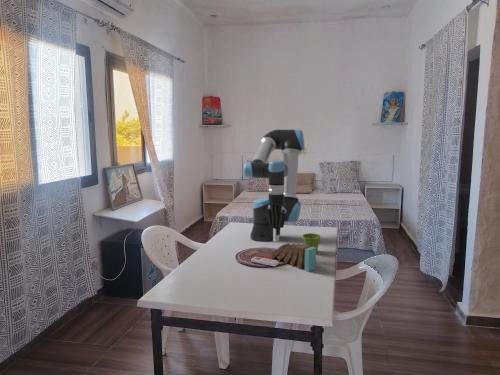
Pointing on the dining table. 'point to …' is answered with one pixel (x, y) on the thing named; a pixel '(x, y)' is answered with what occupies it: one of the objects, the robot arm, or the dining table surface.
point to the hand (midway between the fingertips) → (276, 240)
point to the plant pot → (311, 240)
